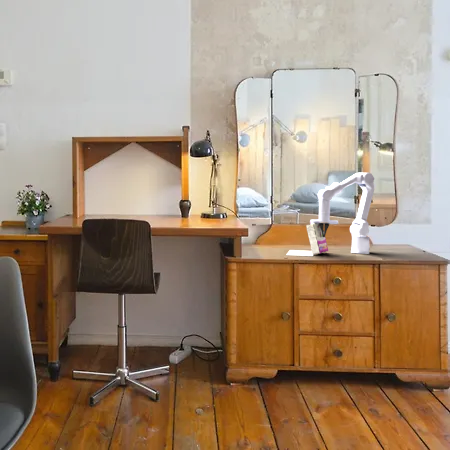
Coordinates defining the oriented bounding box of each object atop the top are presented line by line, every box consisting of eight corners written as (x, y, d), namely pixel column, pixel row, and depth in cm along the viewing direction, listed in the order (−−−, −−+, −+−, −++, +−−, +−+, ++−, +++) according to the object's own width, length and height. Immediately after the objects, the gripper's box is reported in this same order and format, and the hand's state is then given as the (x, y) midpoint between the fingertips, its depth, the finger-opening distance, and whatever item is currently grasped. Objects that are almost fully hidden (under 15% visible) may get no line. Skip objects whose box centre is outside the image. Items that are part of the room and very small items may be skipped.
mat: (314, 251, 250) (314, 251, 250) (312, 256, 235) (312, 256, 235) (290, 250, 254) (290, 250, 254) (286, 255, 239) (286, 254, 239)
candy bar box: (320, 252, 247) (314, 223, 249) (328, 251, 244) (322, 222, 246) (311, 254, 239) (305, 224, 240) (320, 253, 236) (313, 222, 237)
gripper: (338, 211, 241) (337, 236, 242) (310, 211, 244) (310, 235, 246) (338, 212, 234) (337, 238, 236) (310, 212, 237) (309, 237, 239)
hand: (323, 237), depth 240 cm, fingers closed
